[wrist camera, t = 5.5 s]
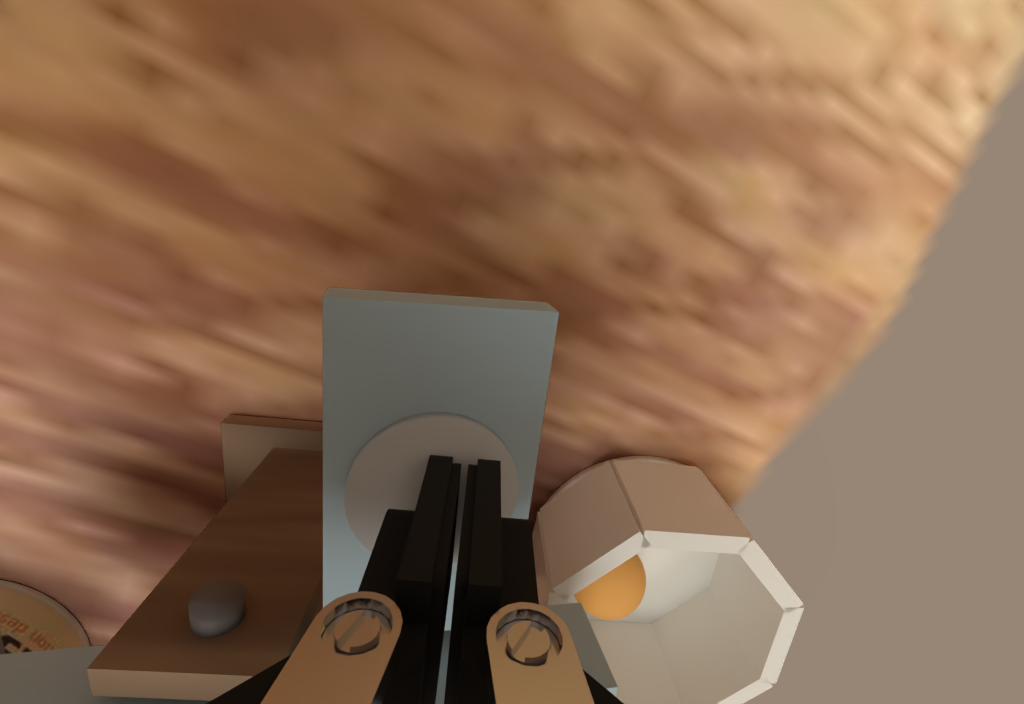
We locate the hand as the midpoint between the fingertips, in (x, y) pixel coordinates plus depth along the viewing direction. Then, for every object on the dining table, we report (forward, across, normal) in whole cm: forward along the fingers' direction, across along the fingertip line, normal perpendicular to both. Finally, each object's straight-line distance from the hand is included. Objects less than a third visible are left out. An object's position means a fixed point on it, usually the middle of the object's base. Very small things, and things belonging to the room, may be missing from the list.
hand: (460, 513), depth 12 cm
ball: (+7, -6, +8) cm, 12 cm away
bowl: (+9, -8, +8) cm, 14 cm away
